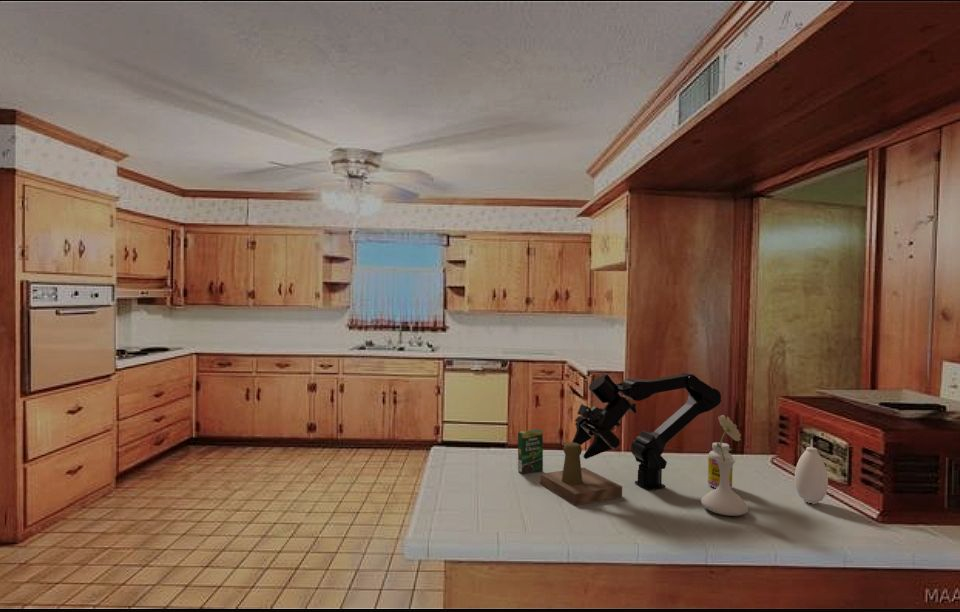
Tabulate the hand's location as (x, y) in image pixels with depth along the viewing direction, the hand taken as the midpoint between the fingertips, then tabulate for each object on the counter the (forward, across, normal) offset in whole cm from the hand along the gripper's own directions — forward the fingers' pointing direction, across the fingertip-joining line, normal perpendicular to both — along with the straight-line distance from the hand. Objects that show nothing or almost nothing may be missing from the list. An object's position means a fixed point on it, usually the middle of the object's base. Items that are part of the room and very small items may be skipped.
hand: (577, 453), depth 150 cm
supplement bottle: (-23, +5, +39) cm, 46 cm away
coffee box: (+13, -19, +2) cm, 23 cm away
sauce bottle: (-34, +22, +51) cm, 65 cm away
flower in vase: (-15, +21, +31) cm, 40 cm away
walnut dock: (+7, -1, +9) cm, 11 cm away
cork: (+7, 0, +5) cm, 8 cm away
